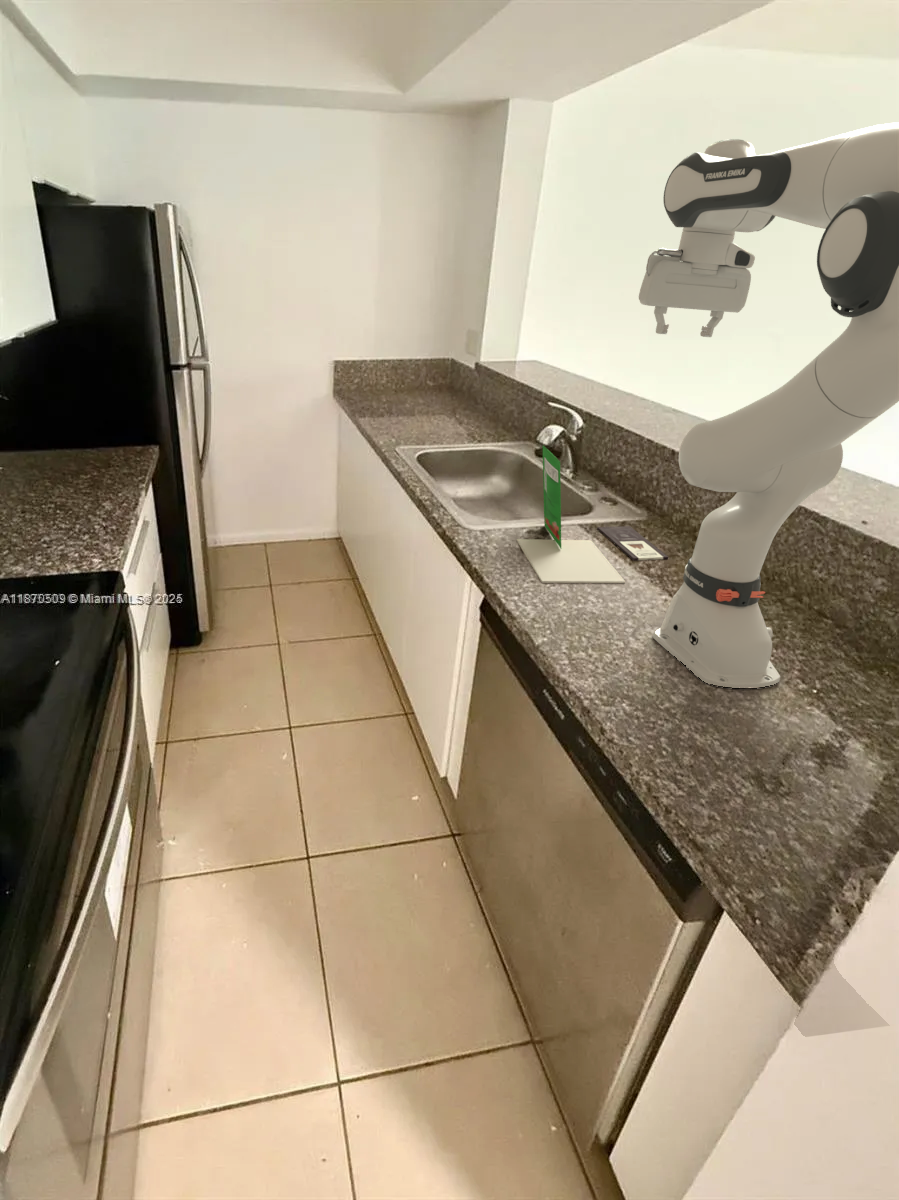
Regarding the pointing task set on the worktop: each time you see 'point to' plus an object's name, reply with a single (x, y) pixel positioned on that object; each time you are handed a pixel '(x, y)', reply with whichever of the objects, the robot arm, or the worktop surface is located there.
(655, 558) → the chocolate bar
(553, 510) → the tomato puree packet
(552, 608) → the worktop surface
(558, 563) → the rubber mat
